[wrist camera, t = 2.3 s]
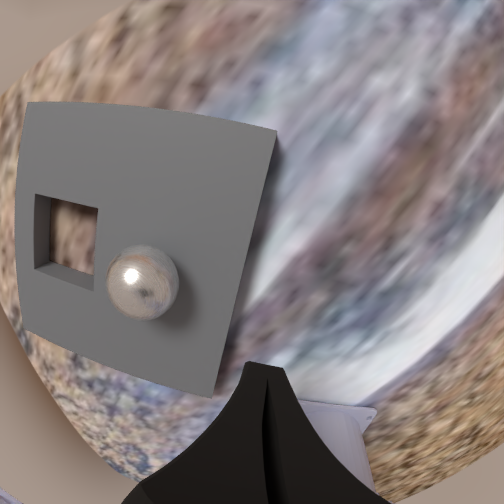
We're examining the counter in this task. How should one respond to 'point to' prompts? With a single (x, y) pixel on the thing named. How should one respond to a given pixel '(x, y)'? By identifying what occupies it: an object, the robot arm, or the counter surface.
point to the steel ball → (142, 282)
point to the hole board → (139, 229)
